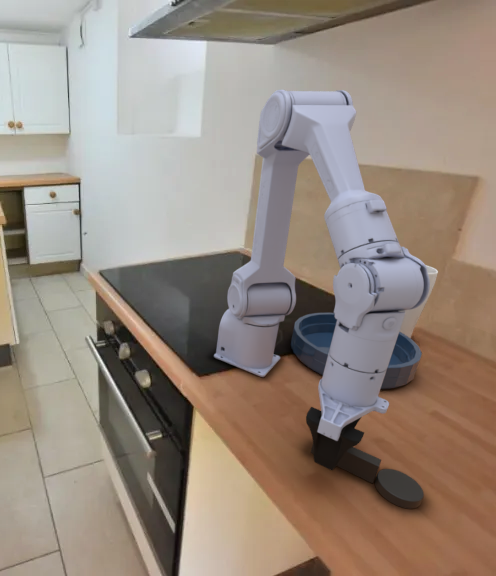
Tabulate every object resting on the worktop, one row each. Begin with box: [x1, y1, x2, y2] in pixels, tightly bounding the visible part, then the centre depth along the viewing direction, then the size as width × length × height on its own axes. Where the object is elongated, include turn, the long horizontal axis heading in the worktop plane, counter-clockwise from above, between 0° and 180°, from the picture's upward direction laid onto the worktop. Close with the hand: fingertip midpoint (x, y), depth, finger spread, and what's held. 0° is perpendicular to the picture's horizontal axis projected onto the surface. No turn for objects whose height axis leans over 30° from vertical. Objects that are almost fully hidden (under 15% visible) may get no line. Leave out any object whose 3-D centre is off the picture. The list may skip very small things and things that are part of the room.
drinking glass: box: [399, 264, 439, 339], centre depth 75 cm, size 7×7×15 cm
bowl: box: [290, 312, 423, 390], centre depth 69 cm, size 20×20×4 cm
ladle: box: [310, 444, 425, 510], centre depth 46 cm, size 12×4×3 cm, turn 48°
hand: (331, 449), depth 48 cm, fingers open, 6 cm apart
